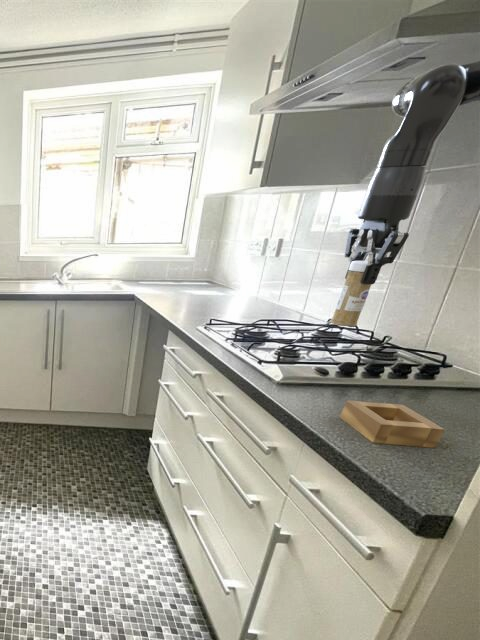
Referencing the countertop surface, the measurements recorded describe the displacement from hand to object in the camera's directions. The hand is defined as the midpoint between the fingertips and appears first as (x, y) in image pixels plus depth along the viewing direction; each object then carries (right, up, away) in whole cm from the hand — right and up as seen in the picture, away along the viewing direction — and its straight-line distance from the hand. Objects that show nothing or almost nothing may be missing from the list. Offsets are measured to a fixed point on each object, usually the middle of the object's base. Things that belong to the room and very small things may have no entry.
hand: (358, 281), depth 88 cm
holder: (-1, -31, -6) cm, 32 cm away
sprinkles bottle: (0, -9, +4) cm, 10 cm away
